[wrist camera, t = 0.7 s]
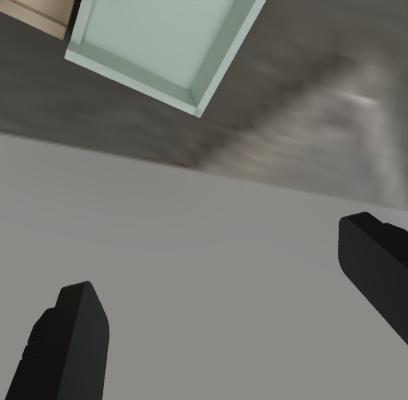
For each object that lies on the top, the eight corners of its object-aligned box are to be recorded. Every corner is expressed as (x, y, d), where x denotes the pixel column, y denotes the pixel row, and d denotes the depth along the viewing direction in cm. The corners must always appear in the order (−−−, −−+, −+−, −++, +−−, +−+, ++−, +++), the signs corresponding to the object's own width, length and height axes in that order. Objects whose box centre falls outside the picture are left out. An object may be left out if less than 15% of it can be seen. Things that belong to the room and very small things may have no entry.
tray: (70, 41, 29) (64, 58, 26) (124, -148, 22) (126, -162, 19) (190, 98, 35) (199, 118, 32) (262, -38, 29) (284, -33, 25)
